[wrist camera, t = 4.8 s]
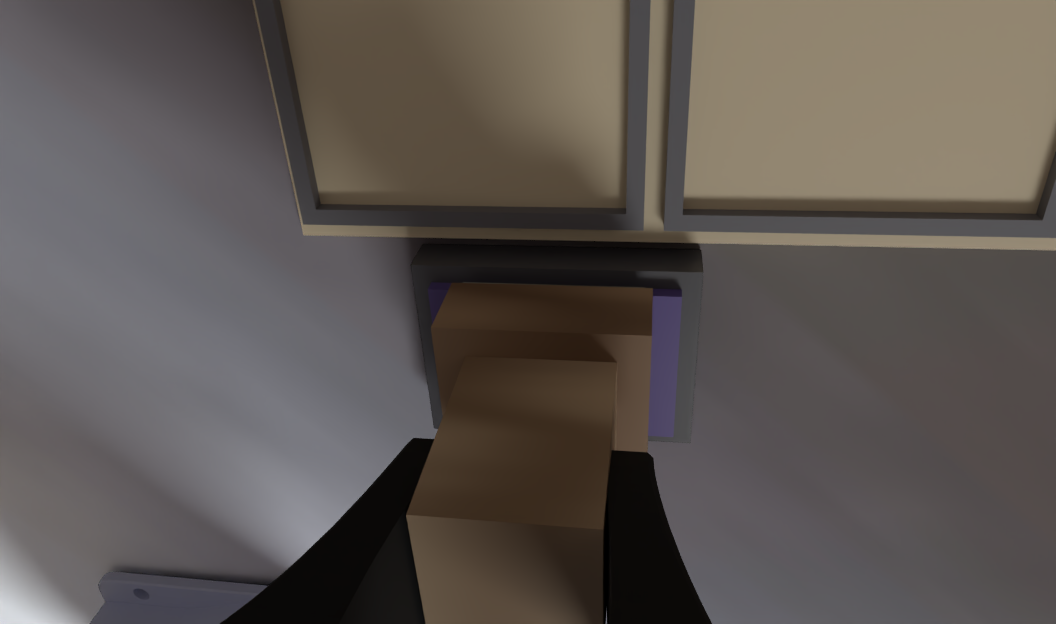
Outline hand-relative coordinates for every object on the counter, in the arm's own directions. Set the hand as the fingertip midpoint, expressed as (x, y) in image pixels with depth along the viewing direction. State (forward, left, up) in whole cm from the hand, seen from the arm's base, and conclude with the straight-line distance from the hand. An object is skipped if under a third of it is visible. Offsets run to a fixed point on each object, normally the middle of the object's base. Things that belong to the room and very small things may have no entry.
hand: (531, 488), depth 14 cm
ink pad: (0, 0, -5) cm, 5 cm away
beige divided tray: (+2, +6, -5) cm, 8 cm away
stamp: (0, 0, -4) cm, 4 cm away
